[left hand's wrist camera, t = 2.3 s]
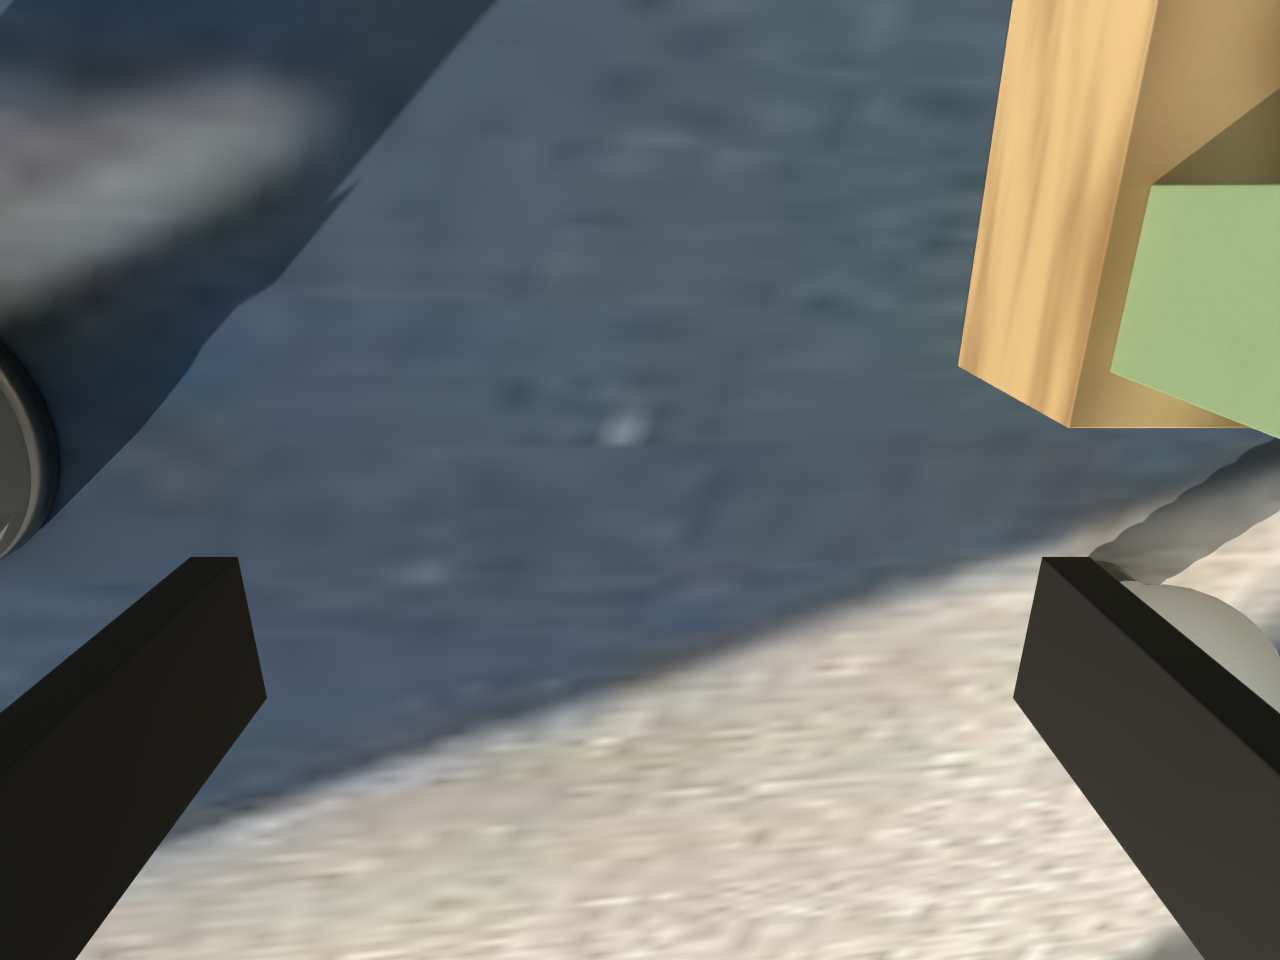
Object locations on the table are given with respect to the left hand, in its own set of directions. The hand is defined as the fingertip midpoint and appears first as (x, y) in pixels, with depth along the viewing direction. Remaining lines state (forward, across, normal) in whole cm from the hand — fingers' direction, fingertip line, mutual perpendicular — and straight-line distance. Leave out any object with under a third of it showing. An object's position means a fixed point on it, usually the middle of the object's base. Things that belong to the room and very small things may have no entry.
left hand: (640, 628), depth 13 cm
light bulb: (+25, +24, -13) cm, 37 cm away
